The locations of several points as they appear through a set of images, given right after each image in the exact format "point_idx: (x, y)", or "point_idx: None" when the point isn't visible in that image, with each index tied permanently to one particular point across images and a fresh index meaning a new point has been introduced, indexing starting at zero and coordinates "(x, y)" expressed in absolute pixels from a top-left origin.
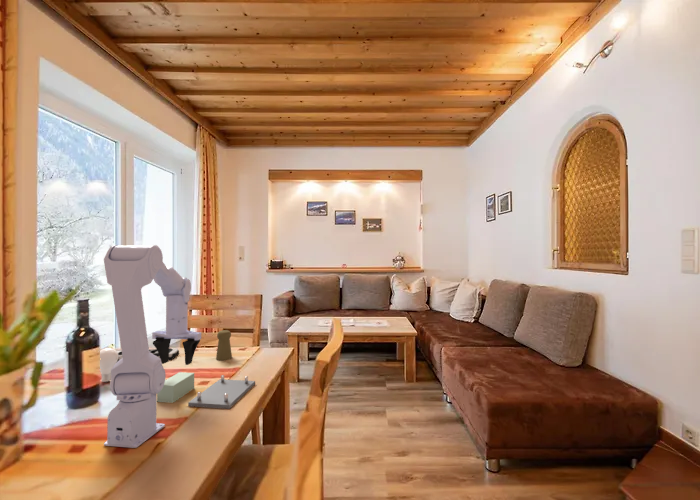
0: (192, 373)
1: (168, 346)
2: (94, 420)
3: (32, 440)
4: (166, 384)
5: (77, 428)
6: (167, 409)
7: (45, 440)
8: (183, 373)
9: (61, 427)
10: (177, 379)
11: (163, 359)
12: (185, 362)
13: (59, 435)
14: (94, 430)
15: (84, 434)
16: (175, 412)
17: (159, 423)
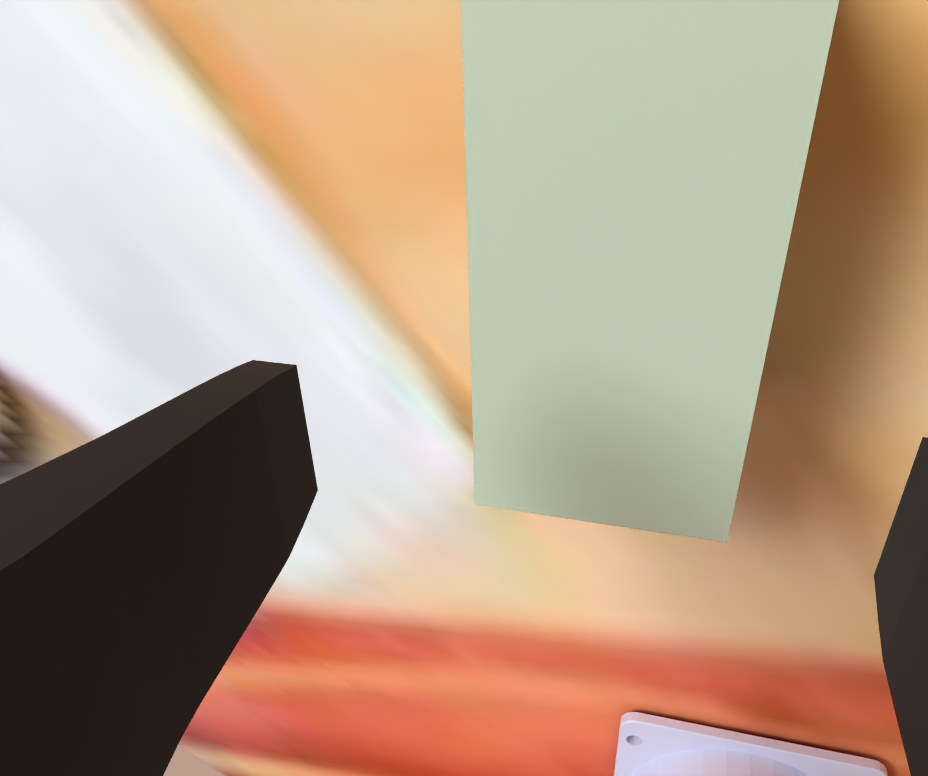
0: (816, 4)
1: (17, 619)
2: (291, 629)
3: (200, 753)
4: (599, 504)
5: (290, 694)
6: (744, 530)
7: (258, 762)
8: (598, 30)
9: None
10: (657, 339)
11: (276, 562)
12: (890, 638)
13: (274, 737)
14: (410, 724)
15: (394, 749)
16: (864, 584)
17: (832, 762)
